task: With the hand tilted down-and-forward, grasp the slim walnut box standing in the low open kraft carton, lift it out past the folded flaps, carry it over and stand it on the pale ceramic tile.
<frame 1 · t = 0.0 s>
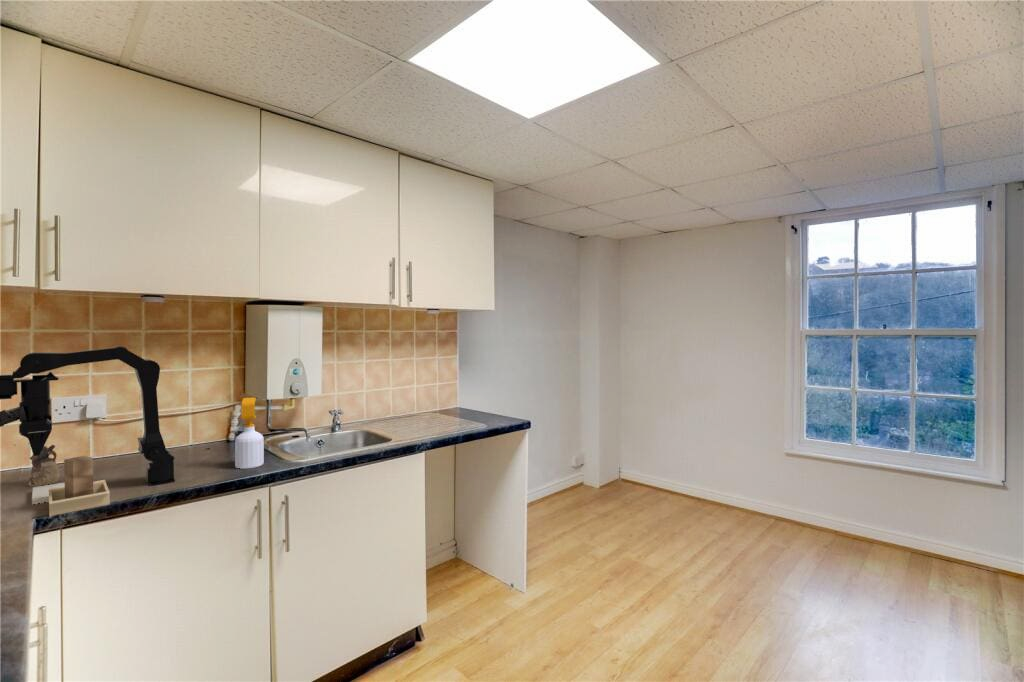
hand: (36, 452, 133), 15 cm above the counter, tool pointing down, fingers open, 9 cm apart
tile: (56, 494, 141), on the counter
carton: (79, 504, 134), on the counter
figurine: (44, 483, 151), on the counter
soap bottle: (249, 466, 172), on the counter
walnut box: (78, 481, 133), in the carton
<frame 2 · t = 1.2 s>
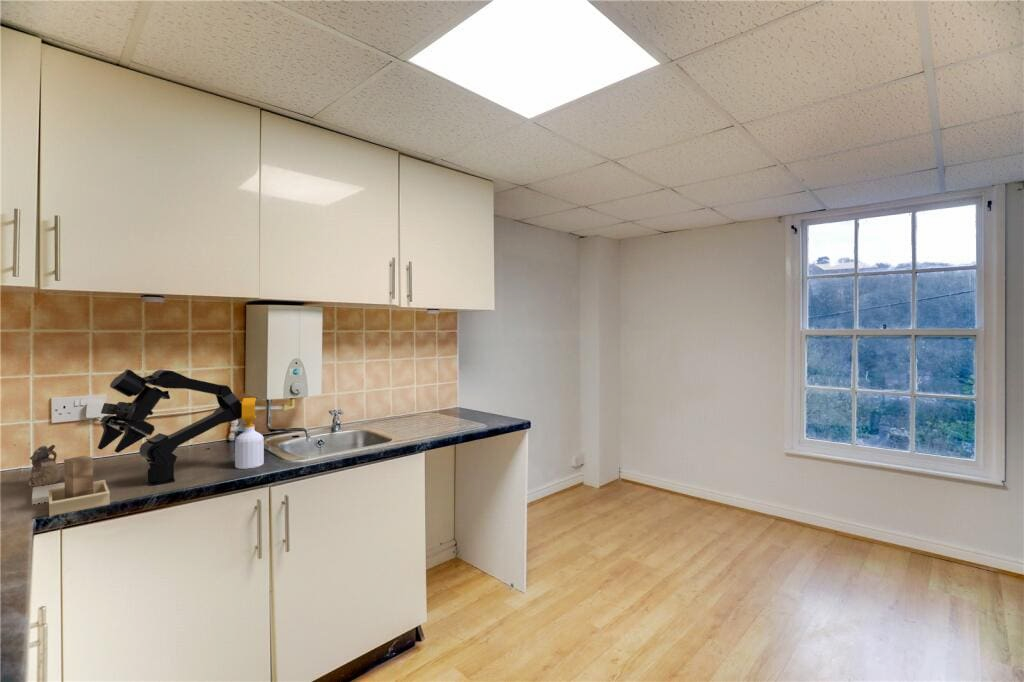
hand: (107, 450, 140), 13 cm above the counter, tool tilted 40°, fingers open, 9 cm apart
soap bottle: (249, 466, 172), on the counter, touching arm
everything else where it was.
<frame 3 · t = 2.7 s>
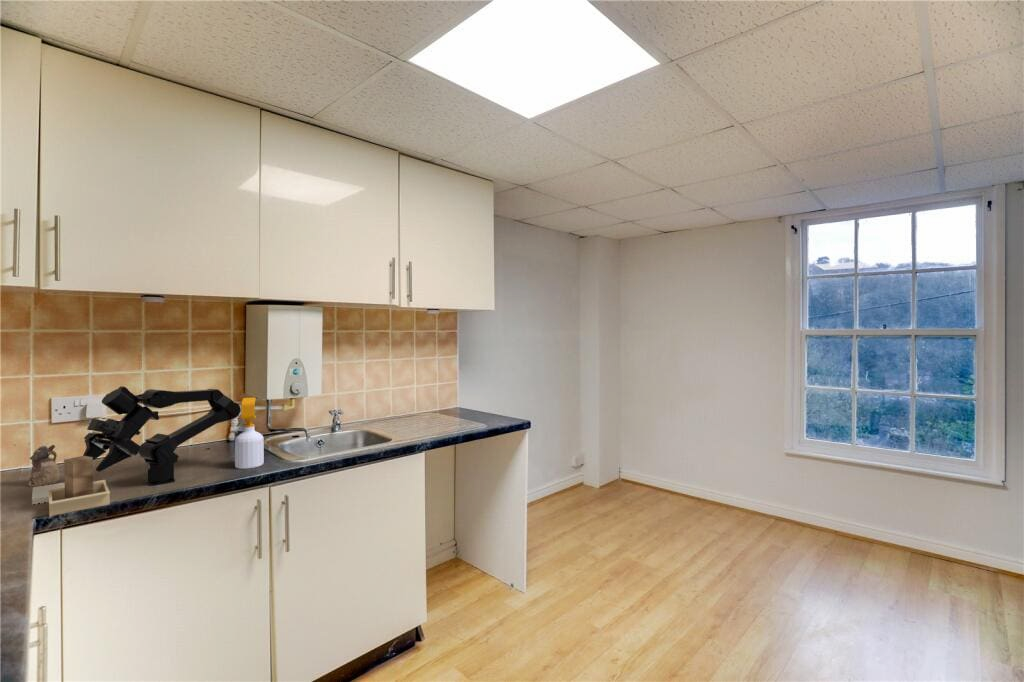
hand: (88, 468, 135), 9 cm above the counter, tool tilted 45°, fingers open, 9 cm apart
soap bottle: (249, 466, 172), on the counter
everything else where it was.
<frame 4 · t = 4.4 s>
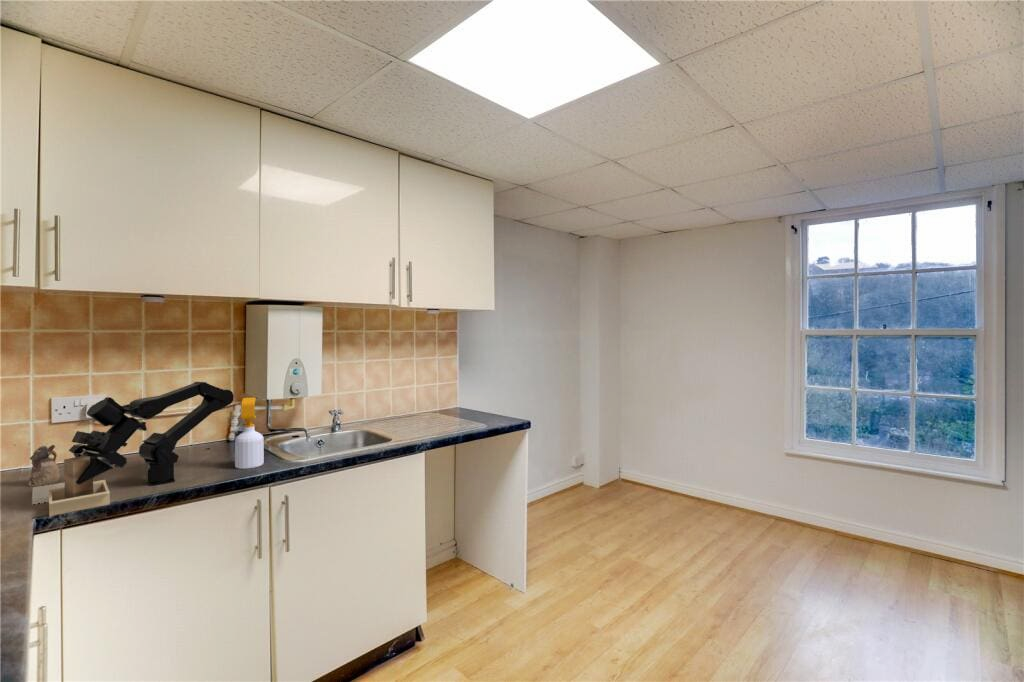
hand: (72, 482, 132), 7 cm above the counter, tool tilted 45°, fingers closed on walnut box, 4 cm apart
walnut box: (78, 481, 133), in the carton, touching gripper
everything else where it was.
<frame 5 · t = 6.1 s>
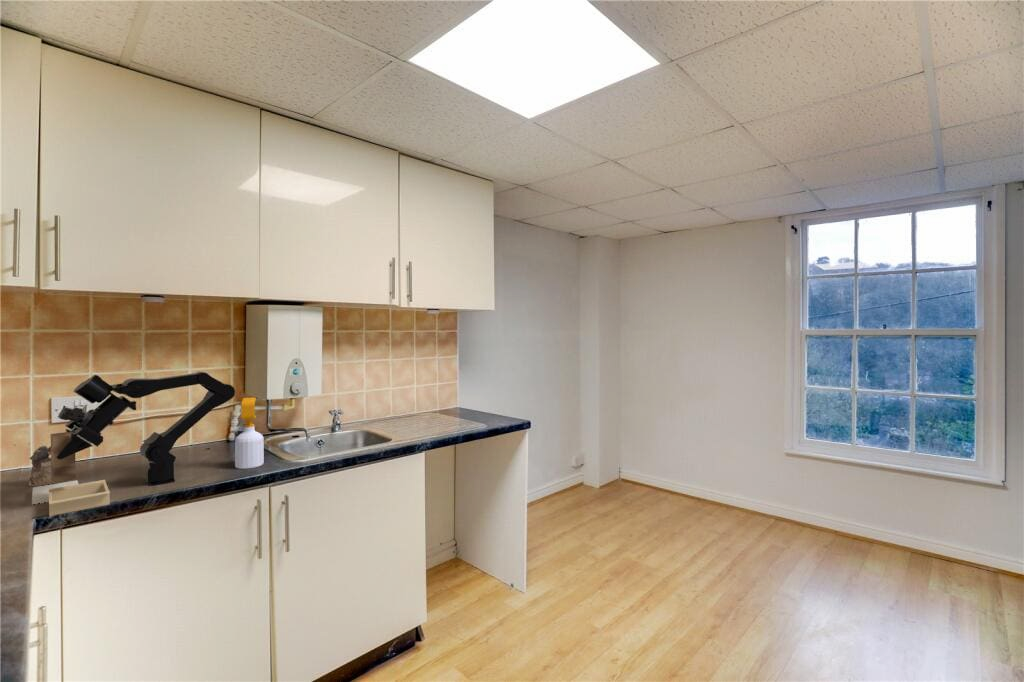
hand: (56, 457, 134), 13 cm above the counter, tool tilted 45°, fingers closed on walnut box, 4 cm apart
walnut box: (63, 456, 135), point 13 cm above the counter, touching gripper
everything else where it was.
when the fingers open (9 cm above the counter, at t = 8.0 s): walnut box stays where it is, resting on tile.
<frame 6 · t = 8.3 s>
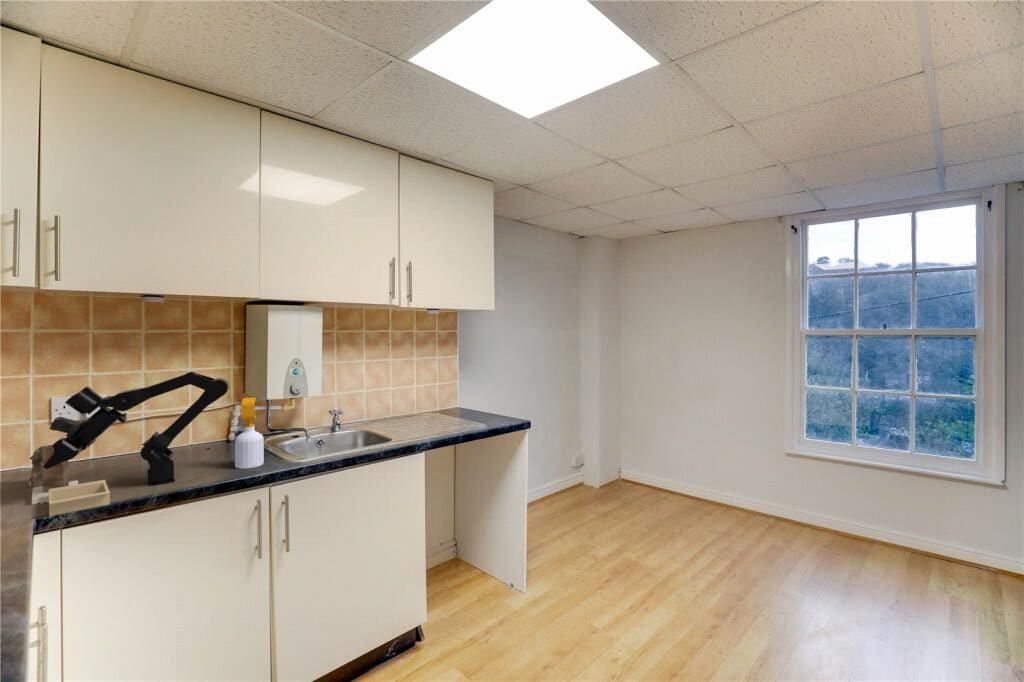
hand: (49, 464, 140), 9 cm above the counter, tool tilted 45°, fingers open, 7 cm apart
walnut box: (55, 467, 141), on the tile, point 8 cm above the counter
everything else where it was.
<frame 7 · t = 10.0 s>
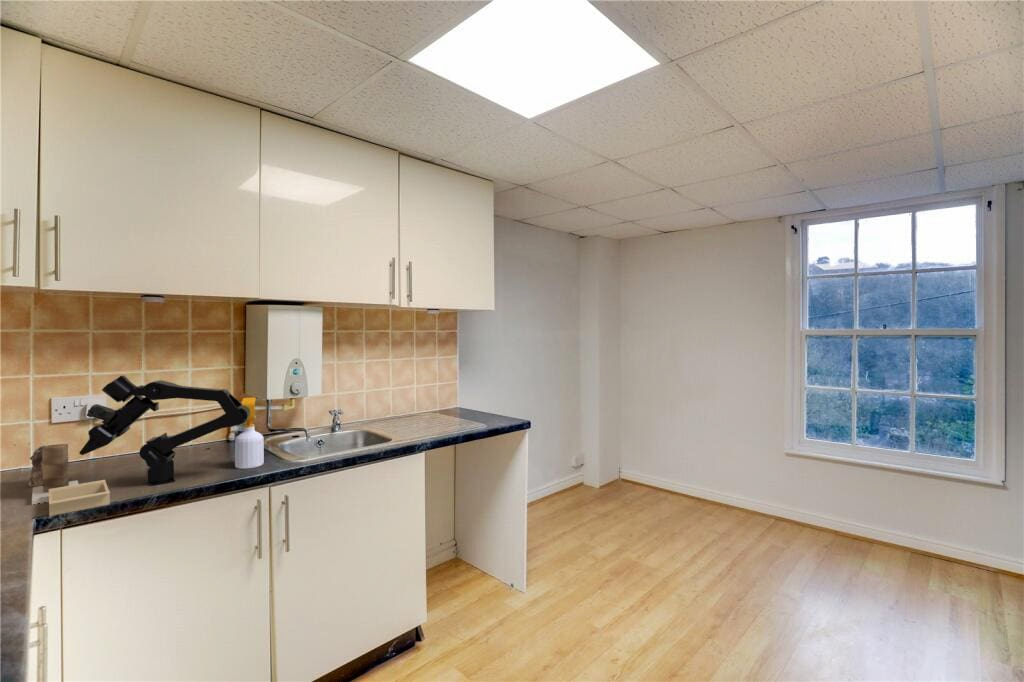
hand: (86, 450, 145), 12 cm above the counter, tool tilted 45°, fingers open, 9 cm apart
nothing on the counter moved.
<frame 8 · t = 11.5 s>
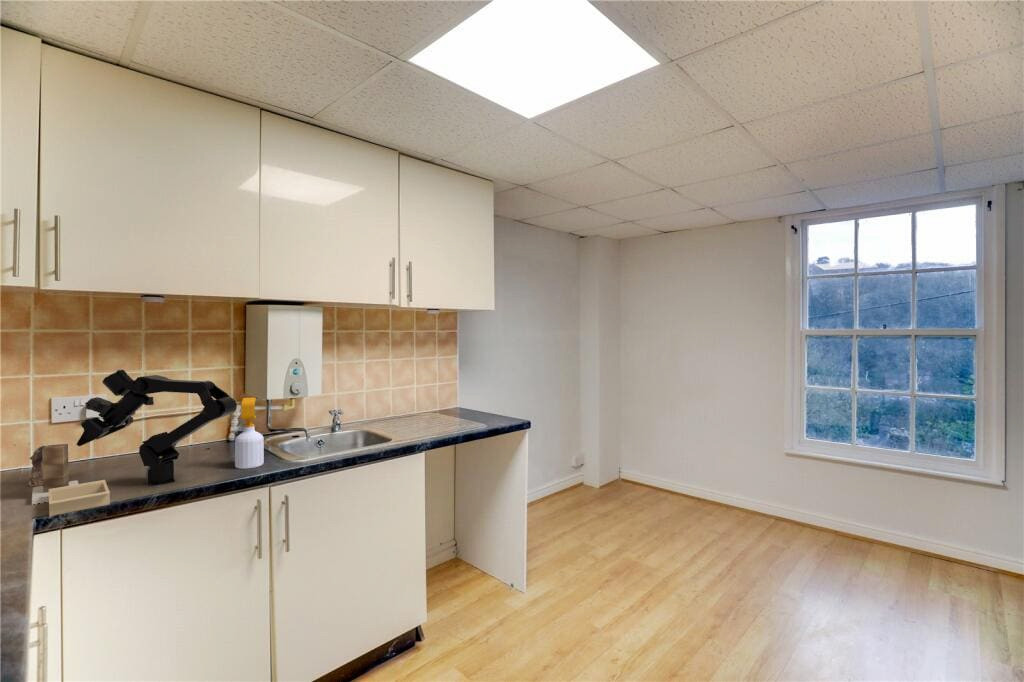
hand: (87, 441, 150), 14 cm above the counter, tool tilted 45°, fingers open, 9 cm apart
nothing on the counter moved.
at the end: walnut box inside the target area on the tile (0.0 cm from its centre), point 8.0 cm above the tile's base; walnut box tilted 0°; the gripper is holding nothing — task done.
